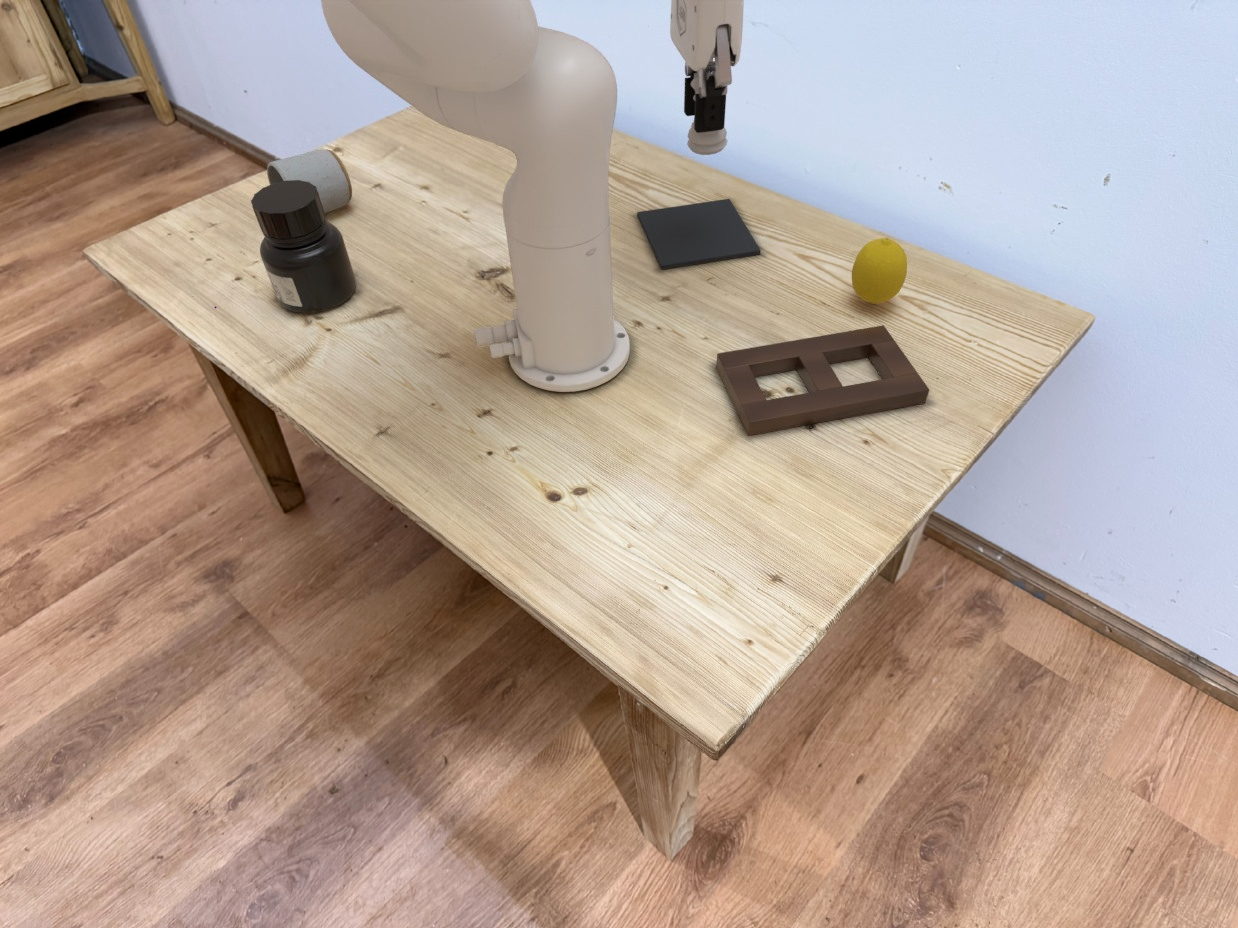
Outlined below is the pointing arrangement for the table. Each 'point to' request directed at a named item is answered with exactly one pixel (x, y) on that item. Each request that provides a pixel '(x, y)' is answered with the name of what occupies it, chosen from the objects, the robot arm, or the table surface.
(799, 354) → the frame
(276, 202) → the ink bottle
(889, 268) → the lemon
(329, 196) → the ceramic mug
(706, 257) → the mat
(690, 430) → the table surface
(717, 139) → the rook chess piece
